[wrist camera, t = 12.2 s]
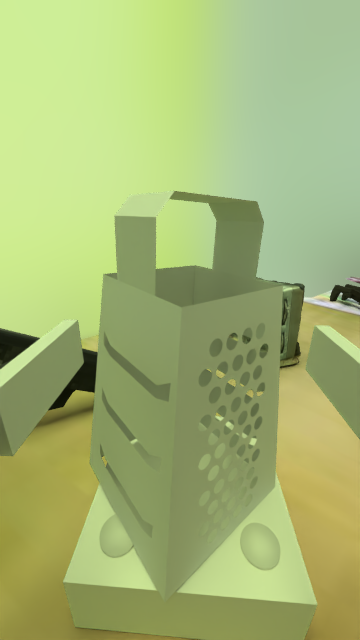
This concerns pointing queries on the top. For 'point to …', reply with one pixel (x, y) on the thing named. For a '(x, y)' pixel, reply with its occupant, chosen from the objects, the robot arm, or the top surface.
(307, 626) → the pedestal
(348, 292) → the toy
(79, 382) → the handgun
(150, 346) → the grater
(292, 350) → the radio
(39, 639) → the top surface
